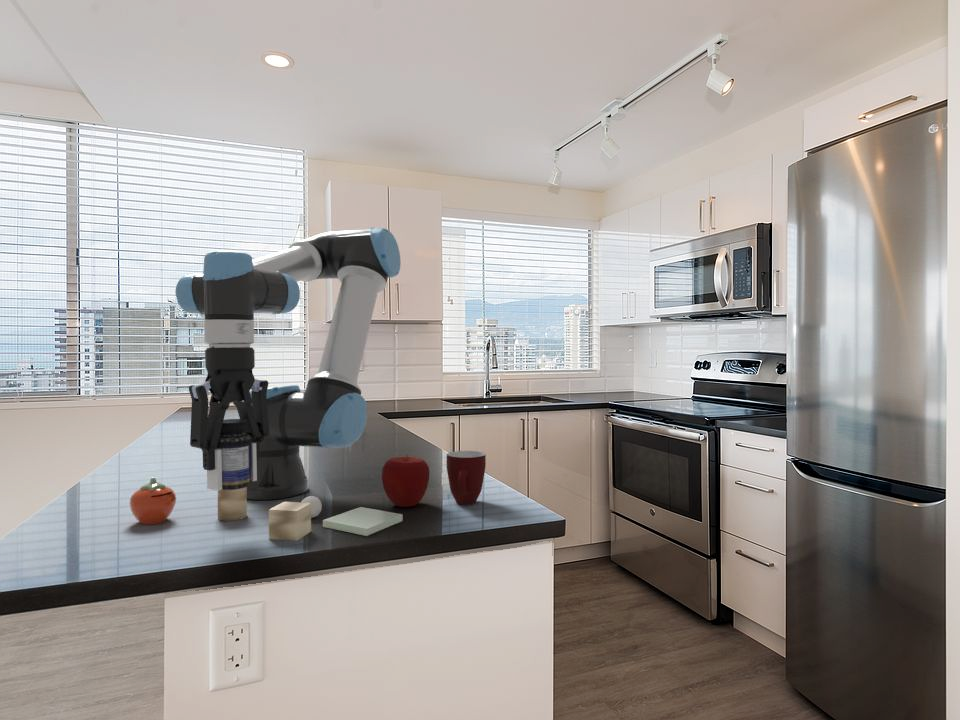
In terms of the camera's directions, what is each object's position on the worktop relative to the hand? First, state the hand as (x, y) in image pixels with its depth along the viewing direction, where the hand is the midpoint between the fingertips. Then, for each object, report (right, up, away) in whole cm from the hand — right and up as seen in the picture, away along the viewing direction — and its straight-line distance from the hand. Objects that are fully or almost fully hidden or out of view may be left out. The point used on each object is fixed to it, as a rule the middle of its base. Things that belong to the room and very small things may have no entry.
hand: (232, 484), depth 96 cm
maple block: (+9, -9, +1) cm, 13 cm away
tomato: (-18, -9, +8) cm, 22 cm away
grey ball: (+10, -9, +11) cm, 17 cm away
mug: (+38, -9, +21) cm, 45 cm away
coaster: (+20, -9, +7) cm, 23 cm away
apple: (+26, -9, +20) cm, 34 cm away
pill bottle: (0, -1, 0) cm, 1 cm away
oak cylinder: (-5, -9, +11) cm, 15 cm away
